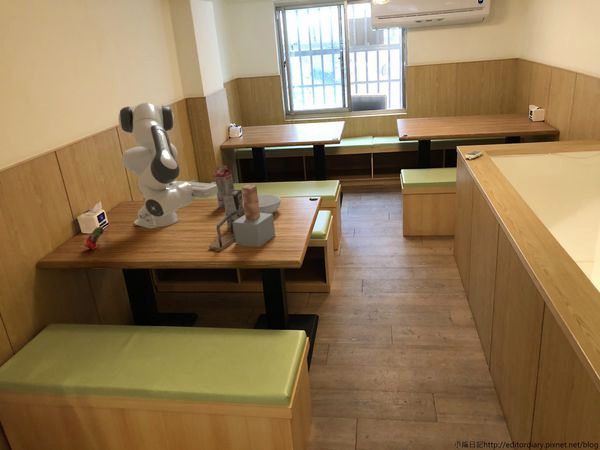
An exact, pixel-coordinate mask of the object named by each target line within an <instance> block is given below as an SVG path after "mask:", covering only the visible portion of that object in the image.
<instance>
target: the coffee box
mask: <svg viewBox="0 0 600 450" xmlns="http://www.w3.org/2000/svg"><path fill="white" fill-rule="evenodd" d="M223 198H224V205H225V208H224V210H225V212H224V213H225V217H226V216H227V215H228V214H229V213H231V212H234V211H236V210H239V209H242V208H244V205H243V195H242V189H234V190H229V191H228V192H227V193H226V194H225V195H224V196H223ZM244 215H245V212H244V211H242V212H239V213H237V214H234V215H232V216H231V217H232V224H233V222H234V221H235V220H237V219H239V218H240V217H242V216H244ZM226 225H227V228H228V229H230V222H229V218H228V219H227V220H226ZM233 229H234V226H233Z"/></svg>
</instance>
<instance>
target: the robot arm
mask: <svg viewBox="0 0 600 450" xmlns="http://www.w3.org/2000/svg"><path fill="white" fill-rule="evenodd" d="M117 118H118V123H119V126H120V128H121V130H122V131H123V132H126V133H128V134H129V133H131V134H132V133H133V138H134V140H135V142H136V144H138V146H135V147H131V148H128V149H127V150H124V152H123V153H122V156H121V161H122V165H123V166H124V168H126V170H128V171H129V172H131V173H133V174H135V175H136V176H137V177H138V178H137V181H136V185H137V189H138V191H139V192H140V193H141V195H142V196H143V197H142V199H143V200H142V201H144V205H142V206H141V208H140V209H139V210H138V212H137V219H135V221H134V222H133V224H134V225H136V226H140V227H143V228H147V229H151V230H152V229H157V228H162V227H167V226H170V225H173V224H175V223H176V222H178V221H179V218H178V215H177V213H176V211H178V210H179V209H182V208H184V207H186V206H188V205H190V204H192V203H193V202H194V200H195V198H197V199H208V198H211V197H213V196H215V195H216V196H217V193H218V188H217V185H216V182H215V181H211V182H210V183H206V182H198V180H197V179H196V180H195V179H193V180H190V181H185V180H175V179H177V178H178V177H179V175H180V172H181V171H180V166H179V163H178V161H177V160H178V157H179V153H178V148H177V147H176V146H175V145H174V144H173V143H171V142H170V138H169V135H168V132H169V131H170V130H172V129H173V128H174V123H175V114H174V112H173V110H172V108H171V107H169V106H167V105H154V104H152V103H149V102H141V103H139V104H137V105H136V106H125V107H122V108H121V109H120V110H119V114H118V117H117ZM167 131H168V132H167Z"/></svg>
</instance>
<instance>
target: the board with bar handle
mask: <svg viewBox="0 0 600 450" xmlns="http://www.w3.org/2000/svg"><path fill="white" fill-rule="evenodd" d="M242 211H244V208H242V209H239V210H236V211H234V212H231V213H229V214H228V215H227V216H226V215H225V217H224V218H223V219H222V220H221V221H220V222H218V224H217V225H216V232H217V238H218V239H217V240H216V241H215V242H213V243H211V244H210V245H208V249H209V250H211V251H218V252H221V251H223V250H224V249H226V248H227V247H229V246H230V245H232V244H233V243H236V239H235V232H234V228H233V224H232V217H231V216H232V215H234V214H237V213H239V212H242ZM228 218H229V222H230V228H229V229H230V232H229V233H227V234H226V235H223V236H222V233H221V227H222V226H223V225H224V224H225V222H227V219H228Z"/></svg>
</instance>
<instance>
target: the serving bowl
mask: <svg viewBox="0 0 600 450" xmlns="http://www.w3.org/2000/svg"><path fill="white" fill-rule="evenodd" d="M281 201H282V199H281V197H280V196H279V195H274V194H258V202H259V210H260V213H268V214H273V213H275V212H276V211H278V209H279V208H280V206H281ZM243 205H244V203H243ZM244 212H245V210H244Z"/></svg>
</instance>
